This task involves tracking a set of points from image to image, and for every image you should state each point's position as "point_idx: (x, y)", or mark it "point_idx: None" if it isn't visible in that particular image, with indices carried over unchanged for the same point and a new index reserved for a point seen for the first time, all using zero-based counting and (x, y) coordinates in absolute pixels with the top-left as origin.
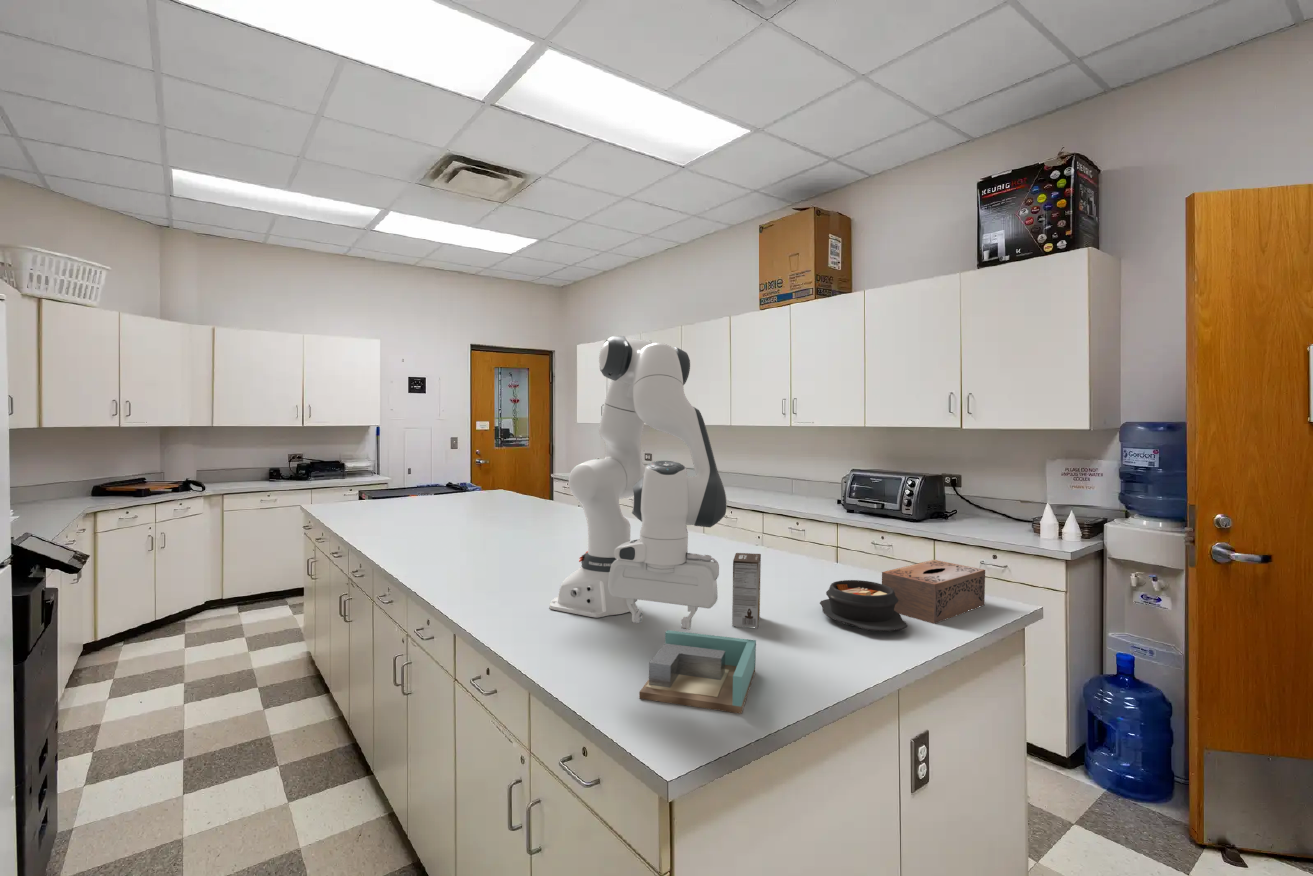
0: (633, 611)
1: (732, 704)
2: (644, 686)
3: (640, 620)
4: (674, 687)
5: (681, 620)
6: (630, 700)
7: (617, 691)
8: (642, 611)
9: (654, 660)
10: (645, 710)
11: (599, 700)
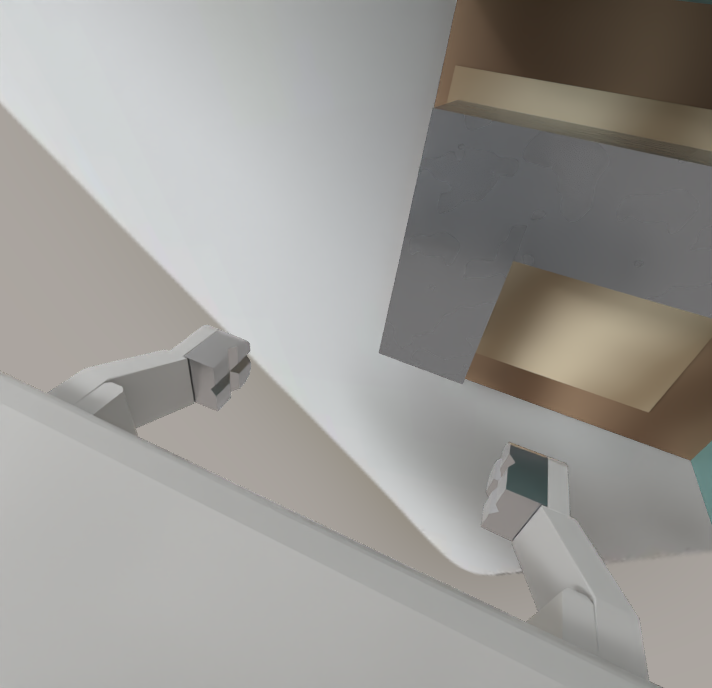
0: (176, 407)
1: (691, 462)
2: None
3: (243, 359)
4: (492, 338)
5: (482, 524)
6: (367, 344)
7: (323, 293)
8: (213, 368)
9: (396, 336)
10: (411, 394)
11: (295, 338)
